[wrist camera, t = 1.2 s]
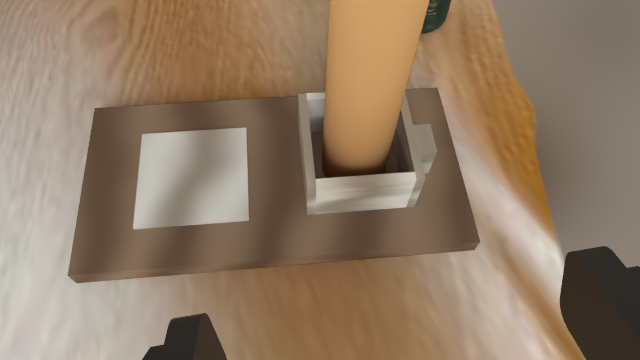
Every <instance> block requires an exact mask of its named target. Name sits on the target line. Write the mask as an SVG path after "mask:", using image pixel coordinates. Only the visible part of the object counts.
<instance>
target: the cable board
mask: <svg viewBox="0 0 640 360" xmlns="http://www.w3.org/2000/svg"><path fill="white" fill-rule="evenodd" d="M324 108H325V92H319V93H302V94H298V96H290V97H274V98H257V99H240V100H224V101H207V102H190V103H173V104H157V105H140V106H123V107H107V108H95V111H94V117H93V123H92V129H91V135H90V142H89V148H88V154H87V160H86V166H85V173H84V179H83V185H82V191H81V197H80V204H79V210H78V216H77V222H76V228H75V235H74V241H73V247H72V253H71V259H70V266H69V272H68V276H69V277H70V278H71V279H73V280H74V281H75V282H76V283H83V282H95V281H107V280H119V279H131V278H143V277H155V276H167V275H179V274H191V273H203V272H215V271H227V270H239V269H251V268H263V267H275V266H287V265H299V264H311V263H323V262H335V261H347V260H359V259H371V258H383V257H395V256H407V255H419V254H431V253H443V252H455V251H467V250H474V249H475V248H476V247H477V245H478V244H479V243H480V239H479V236H478V232H477V228H476V225H475V221H474V218H473V214H472V210H471V207H470V203H469V200H468V196H467V192H466V189H465V185H464V182H463V178H462V174H461V171H460V167H459V164H458V160H457V156H456V153H455V149H454V146H453V142H452V138H451V135H450V131H449V128H448V124H447V120H446V117H445V113H444V110H443V106H442V102H441V99H440V95H439V92H438V88H424V89H407V90H406V91H405V95H404V99H403V103H402V106H401V110H400V114H399V118H398V122H397V125H396V129H395V133H394V137H393V141H392V145H391V148H390V152H389V156H388V160H387V164H386V167H385V171H384V174H377V175H363V176H349V177H335V178H326V177H325V176H324V173H323V171H322V147H323V128H324Z"/></svg>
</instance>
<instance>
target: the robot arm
mask: <svg viewBox="0 0 640 360" xmlns="http://www.w3.org/2000/svg"><path fill="white" fill-rule="evenodd" d="M560 308H561V313H562V316H563V319H564V322H565V324H566V326H567V328H568V330H569V332H570V333H571V335H572V337H573V338H574V340H575V342H576V343H577V345H578V347H579V348H580V350H581V352H582V353H583V355H584V357H585V358H586V360H640V267H639V266H636V267H629V268H626V267H625V266H624V264H623V263H622V262H621V261H620V259H619V258H618V257H617V256H616V255H615V253H614V252H613V251H612V250H611V249H609V248H608V247H605V246H602V247H596V248H590V249H585V250H579V251H572V252H569V253H568V254H567V256H566V259H565V266H564V273H563V280H562V287H561V294H560ZM142 360H227V359H226V355H225V352H224V350H223V348H222V346H221V343H220V341H219V339H218V337H217V334H216V332H215V330H214V327H213V325H212V323H211V321H210V318H209V316H208V315H207V314H206V313H203V314H197V315H191V316H185V317H179V318H174V319H172V320H171V321H170V323H169V326H168V330H167V334H166V338H165V342H164V345H160V346H154V347H150V349H149V350H148V352H147V353H146V355H145V356H144V358H143V359H142Z"/></svg>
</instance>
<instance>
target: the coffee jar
mask: <svg viewBox="0 0 640 360" xmlns="http://www.w3.org/2000/svg"><path fill="white" fill-rule="evenodd" d="M450 2H451V0H429V4H428V8H427V11H426V15H425V19H424V23H423V27H422V30H421V33H426V32H430V31H433V30H435V29H436V28H438V27H440V26H441V25H442V24H443V22H444V21H445V19H446V17H447V13H448V10H449V6H450Z"/></svg>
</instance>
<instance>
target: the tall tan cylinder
mask: <svg viewBox="0 0 640 360" xmlns="http://www.w3.org/2000/svg"><path fill="white" fill-rule="evenodd" d="M428 4H429V0H330V12H329V31H328V50H327V70H326V89H325V108H324V128H323V147H322V171H323V173H324V176H325V177H326V178H335V177H349V176H363V175H377V174H384V171H385V167H386V164H387V160H388V156H389V152H390V148H391V145H392V141H393V137H394V133H395V129H396V125H397V122H398V118H399V114H400V110H401V106H402V103H403V99H404V95H405V91H406V87H407V84H408V80H409V76H410V72H411V68H412V65H413V61H414V57H415V53H416V49H417V46H418V42H419V38H420V34H421V30H422V27H423V23H424V19H425V15H426V11H427V8H428Z"/></svg>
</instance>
